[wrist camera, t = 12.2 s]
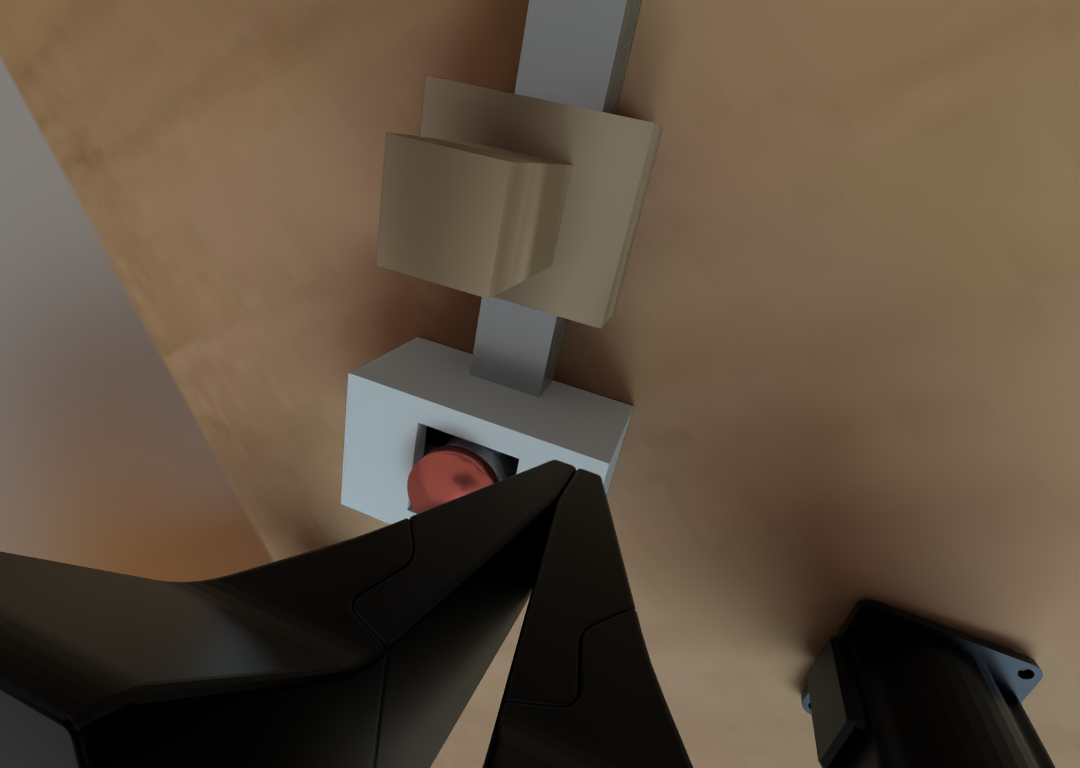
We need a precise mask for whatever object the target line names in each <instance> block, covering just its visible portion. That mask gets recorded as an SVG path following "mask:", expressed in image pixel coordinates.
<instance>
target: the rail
mask: <svg viewBox="0 0 1080 768" xmlns="http://www.w3.org/2000/svg"><path fill="white" fill-rule="evenodd" d="M641 1H642V0H529V5H528V11H527V18H526V24H525V30H524V37H523V43H522V49H521V55H520V62H519V68H518V74H517V80H516V87H515V93H514V94H518V95H523V96H528V97H533V98H538V99H542V100H547V101H552V102H557V103H562V104H567V105H571V106H576V107H581V108H586V109H591V110H595V111H600V112H605V113H610V114H616V110H617V105H618V101H619V97H620V92H621V88H622V84H623V79H624V75H625V71H626V66H627V62H628V58H629V53H630V49H631V45H632V40H633V36H634V32H635V27H636V23H637V19H638V14H639V10H640V6H641ZM567 321H568V319H566V318H562V317H559V316H555V315H552V314H549V313H545V312H542V311H539V310H535V309H532V308H528V307H525V306H522V305H518V304H515V303H511V302H508V301H505V300H501V299H498V298H495V297H491V298H489V299H487V298H483V297H482V300H481V306H480V312H479V318H478V325H477V331H476V337H475V344H474V350H473V356H472V362H471V369H470V375H472V376H475V377H478V378H481V379H484V380H487V381H490V382H493V383H496V384H499V385H502V386H505V387H508V388H511V389H514V390H517V391H520V392H523V393H526V394H529V395H532V396H535V397H538V398H539V397H540V396H541V395H542V394H543V392H544V391H545V390H546V389H547V388H548V387H549V386H550V384H551V383H552V382H553V381H554V377H555V373H556V369H557V365H558V360H559V356H560V352H561V347H562V343H563V339H564V334H565V330H566V326H567Z"/></svg>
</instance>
